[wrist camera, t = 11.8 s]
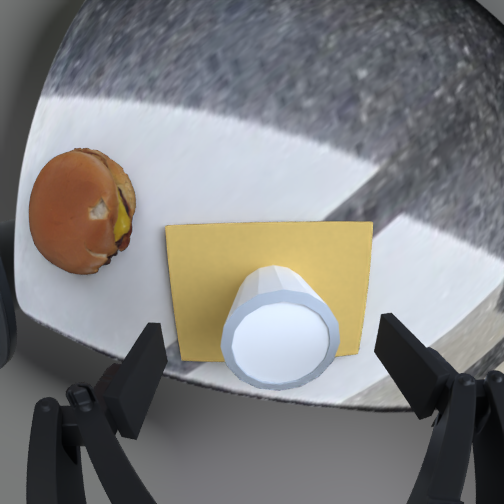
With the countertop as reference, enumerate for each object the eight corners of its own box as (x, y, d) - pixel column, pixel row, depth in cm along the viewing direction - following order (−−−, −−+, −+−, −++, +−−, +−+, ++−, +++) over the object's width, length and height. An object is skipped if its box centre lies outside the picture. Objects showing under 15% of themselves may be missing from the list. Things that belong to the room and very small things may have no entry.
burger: (40, 182, 20) (7, 185, 15) (115, 131, 19) (86, 121, 15) (75, 279, 22) (46, 297, 17) (156, 242, 21) (134, 257, 17)
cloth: (182, 358, 24) (181, 360, 23) (166, 225, 21) (164, 226, 20) (356, 351, 24) (358, 354, 23) (371, 221, 21) (373, 222, 20)
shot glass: (217, 321, 22) (204, 372, 15) (248, 243, 21) (246, 270, 14) (294, 347, 23) (307, 401, 16) (330, 275, 21) (362, 313, 15)
